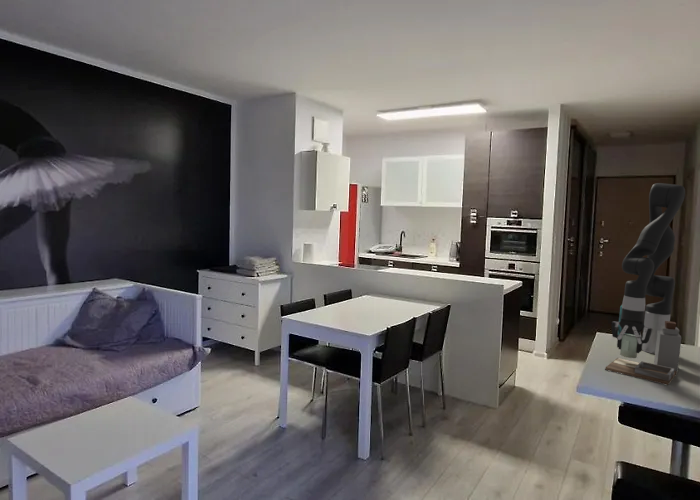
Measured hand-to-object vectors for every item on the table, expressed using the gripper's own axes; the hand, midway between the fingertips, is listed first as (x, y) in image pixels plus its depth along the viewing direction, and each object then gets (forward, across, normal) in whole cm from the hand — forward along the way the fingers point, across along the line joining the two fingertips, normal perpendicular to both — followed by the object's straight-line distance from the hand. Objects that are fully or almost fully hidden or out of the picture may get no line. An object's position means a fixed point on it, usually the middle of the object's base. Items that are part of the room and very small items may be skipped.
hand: (628, 350), depth 183 cm
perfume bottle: (+6, -11, -11) cm, 17 cm away
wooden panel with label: (+6, -5, +3) cm, 9 cm away
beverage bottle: (+6, +11, -45) cm, 46 cm away
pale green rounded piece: (+2, 0, +1) cm, 2 cm away
